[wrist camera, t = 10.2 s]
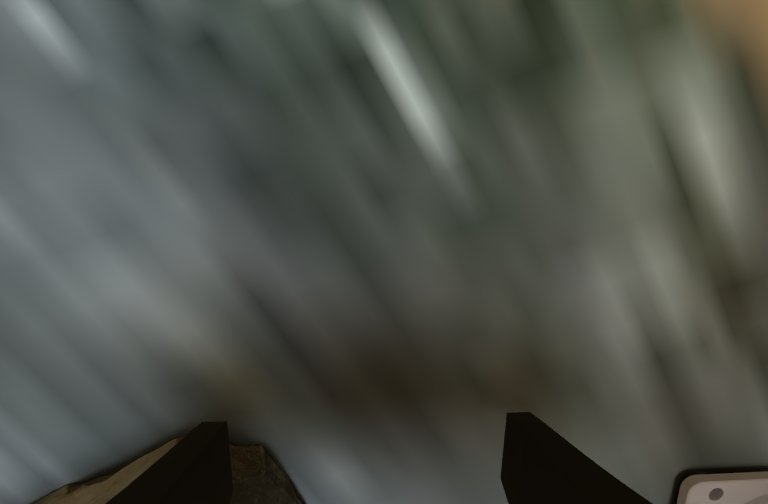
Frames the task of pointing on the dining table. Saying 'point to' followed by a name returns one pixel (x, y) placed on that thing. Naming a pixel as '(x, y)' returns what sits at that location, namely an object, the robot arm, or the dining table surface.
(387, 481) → the dining table surface
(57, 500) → the stone block
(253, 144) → the dining table surface
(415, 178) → the dining table surface
